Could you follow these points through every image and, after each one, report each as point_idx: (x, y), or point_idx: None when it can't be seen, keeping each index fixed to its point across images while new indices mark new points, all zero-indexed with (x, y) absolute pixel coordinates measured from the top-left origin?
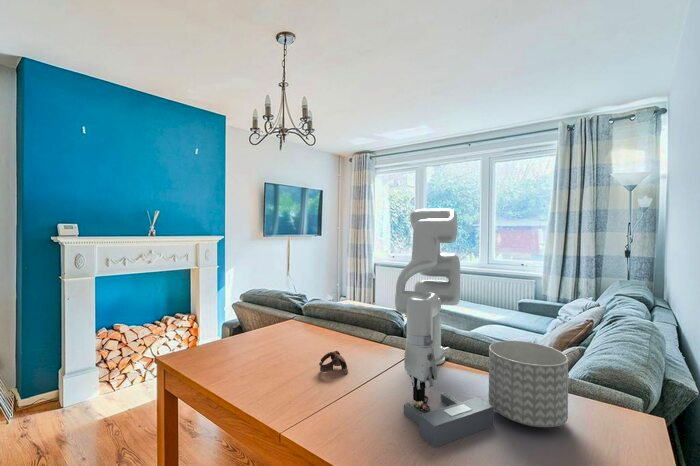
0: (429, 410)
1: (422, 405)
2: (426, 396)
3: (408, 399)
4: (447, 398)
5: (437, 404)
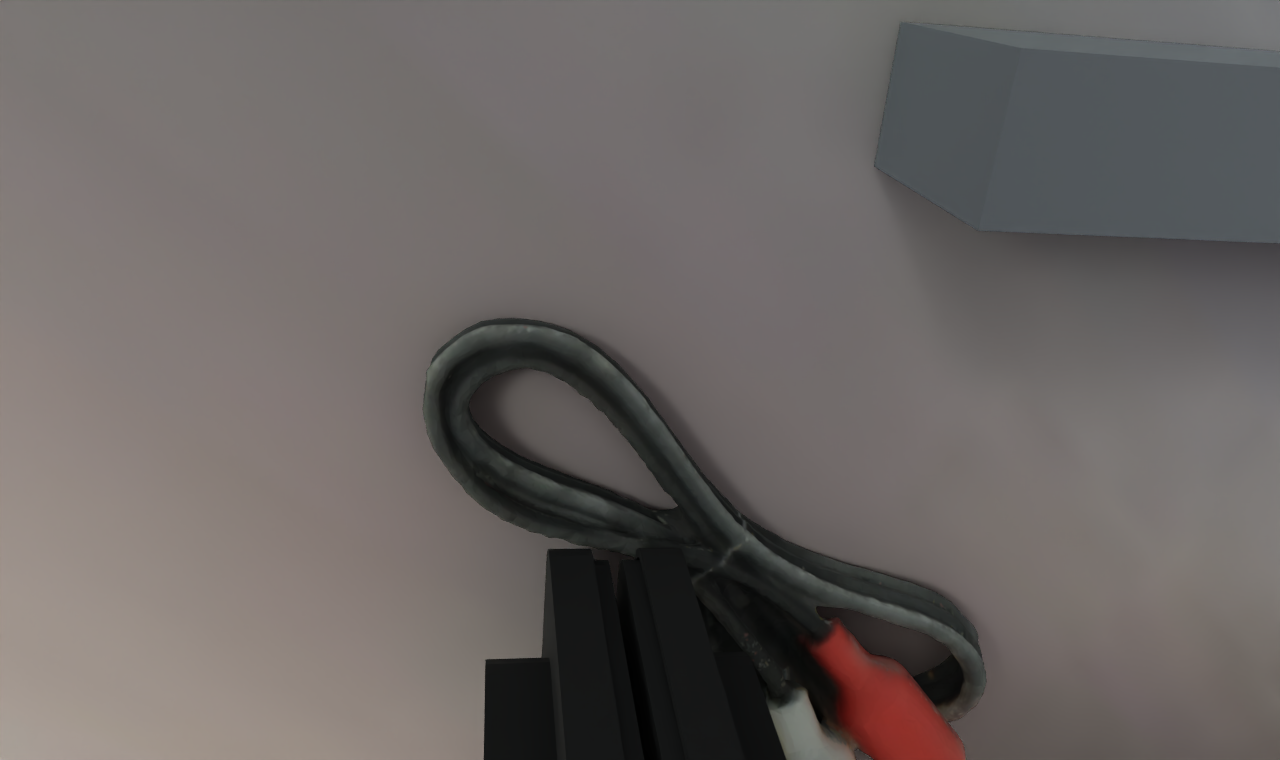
0: (977, 648)
1: (853, 743)
2: (505, 346)
3: (375, 707)
4: (1247, 238)
5: (889, 316)
